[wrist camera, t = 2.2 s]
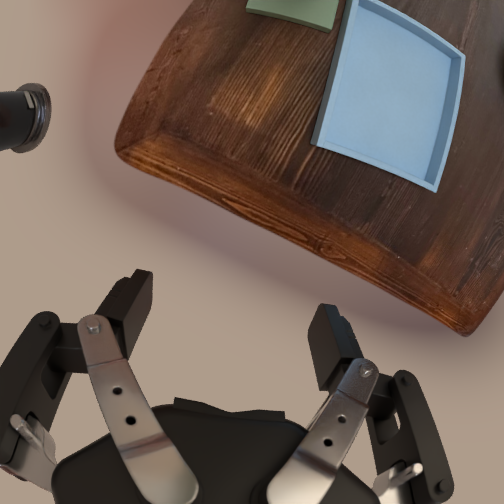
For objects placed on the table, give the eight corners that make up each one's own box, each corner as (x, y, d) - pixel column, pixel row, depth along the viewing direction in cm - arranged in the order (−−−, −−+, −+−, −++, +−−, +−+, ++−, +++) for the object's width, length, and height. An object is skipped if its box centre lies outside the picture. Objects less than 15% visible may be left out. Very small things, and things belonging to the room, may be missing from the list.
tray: (310, 143, 30) (316, 145, 27) (346, -2, 20) (354, -11, 18) (423, 186, 32) (436, 192, 29) (452, 57, 22) (465, 55, 20)
